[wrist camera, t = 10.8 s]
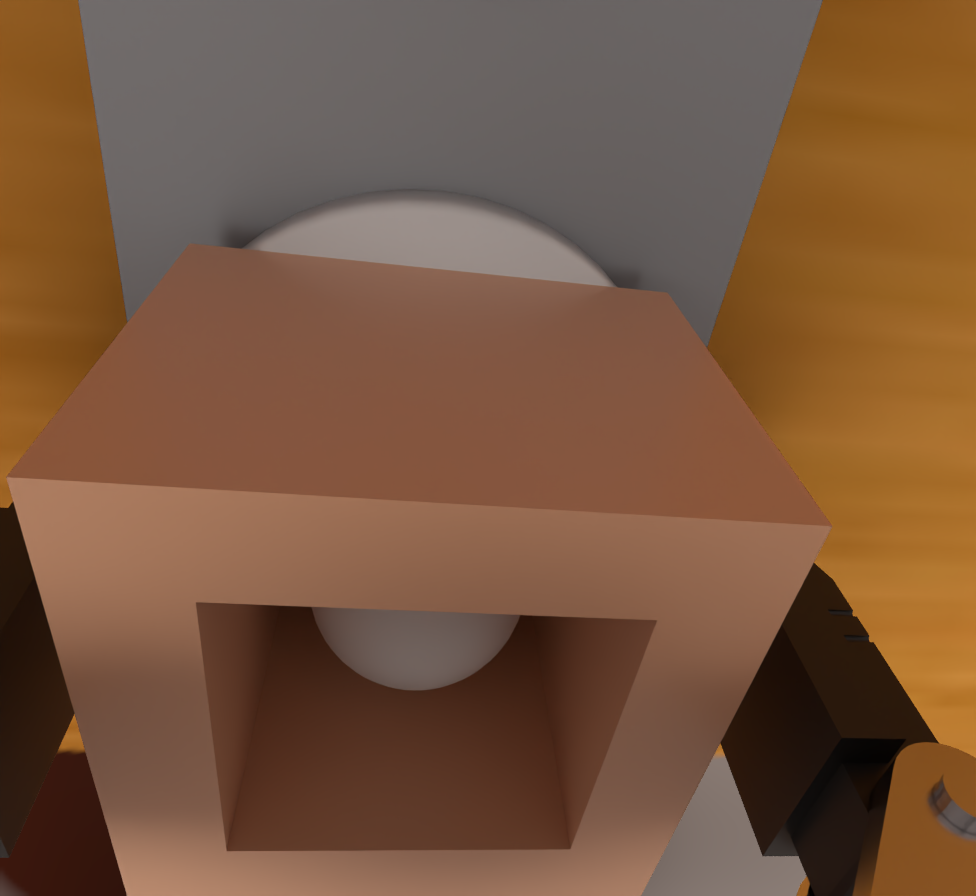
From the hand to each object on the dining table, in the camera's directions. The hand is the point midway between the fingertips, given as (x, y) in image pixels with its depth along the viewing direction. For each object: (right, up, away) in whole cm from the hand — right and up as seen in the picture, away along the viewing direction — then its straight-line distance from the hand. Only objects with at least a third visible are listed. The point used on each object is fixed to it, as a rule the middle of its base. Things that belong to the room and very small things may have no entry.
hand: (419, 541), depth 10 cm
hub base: (0, +6, +1) cm, 6 cm away
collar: (0, +1, +1) cm, 2 cm away
